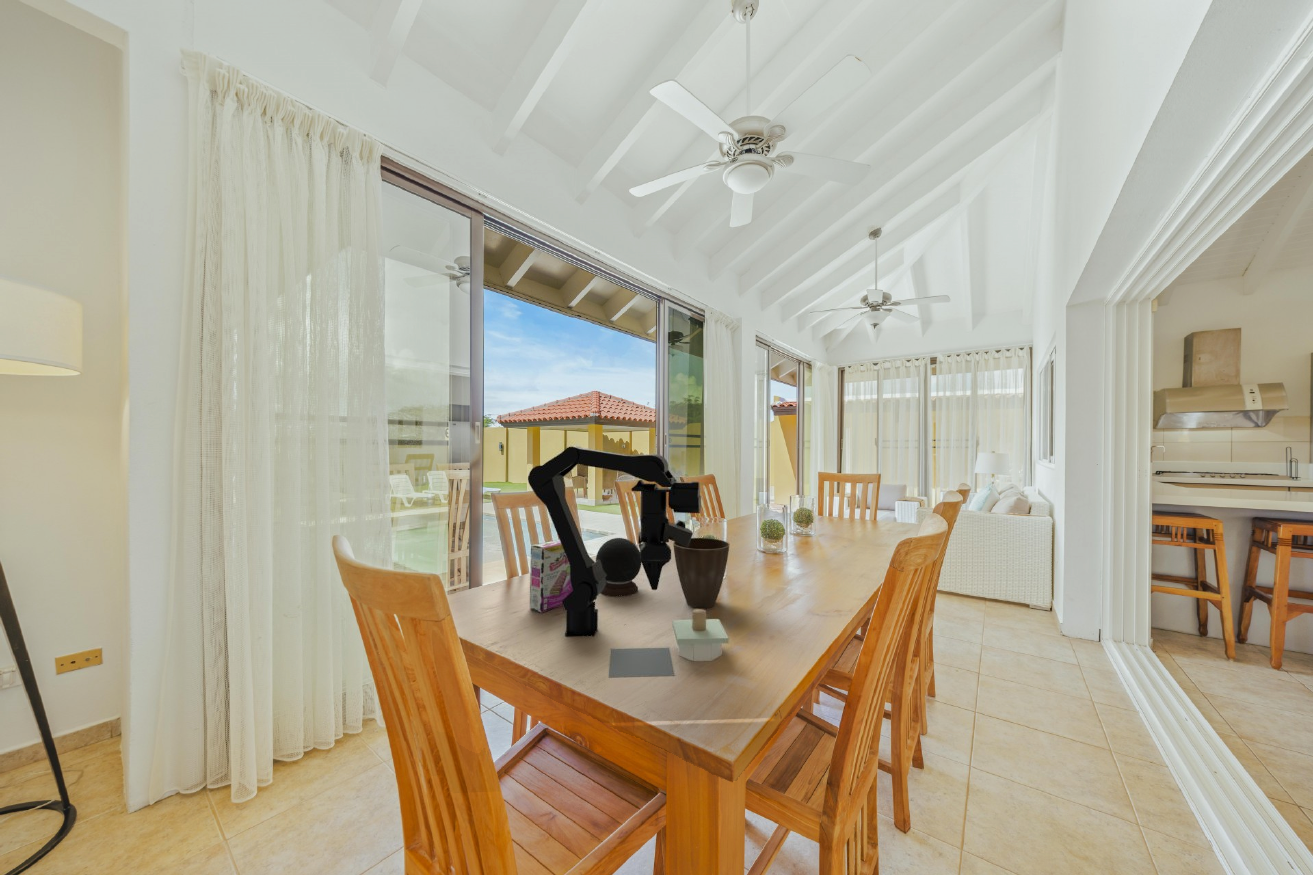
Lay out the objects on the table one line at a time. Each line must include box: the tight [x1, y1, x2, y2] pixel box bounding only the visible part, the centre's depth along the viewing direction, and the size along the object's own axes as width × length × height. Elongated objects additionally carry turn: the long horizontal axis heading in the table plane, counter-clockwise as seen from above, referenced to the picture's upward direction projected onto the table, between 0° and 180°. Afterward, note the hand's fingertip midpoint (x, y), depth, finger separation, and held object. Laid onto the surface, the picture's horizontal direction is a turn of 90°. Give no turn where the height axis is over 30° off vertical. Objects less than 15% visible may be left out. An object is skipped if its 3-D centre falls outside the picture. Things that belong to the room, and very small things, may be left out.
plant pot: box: [672, 537, 730, 609], centre depth 130 cm, size 15×15×16 cm
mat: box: [608, 647, 676, 679], centre depth 95 cm, size 12×12×1 cm
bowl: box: [676, 643, 723, 662], centre depth 100 cm, size 9×9×4 cm
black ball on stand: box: [595, 537, 642, 598], centre depth 141 cm, size 13×13×15 cm
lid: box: [671, 608, 730, 645], centre depth 100 cm, size 10×10×4 cm
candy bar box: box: [529, 539, 572, 614], centre depth 128 cm, size 11×5×16 cm, turn 144°
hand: (653, 583), depth 107 cm, fingers open, 9 cm apart
